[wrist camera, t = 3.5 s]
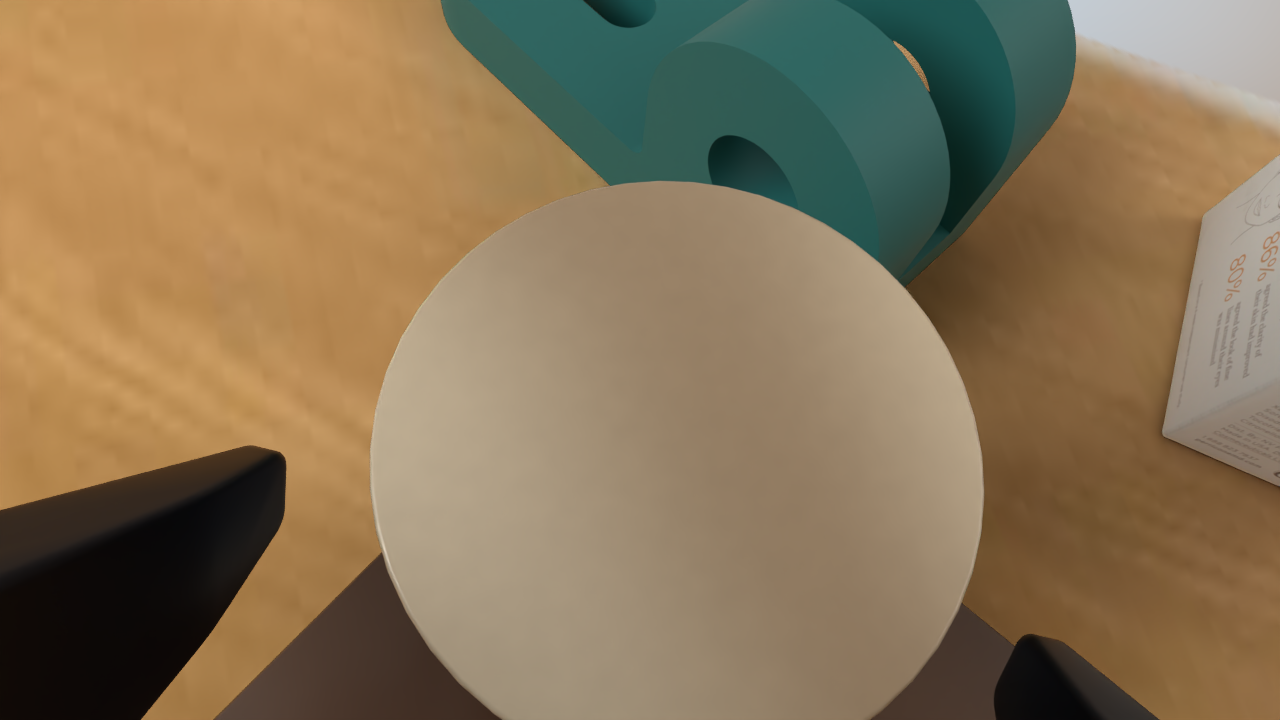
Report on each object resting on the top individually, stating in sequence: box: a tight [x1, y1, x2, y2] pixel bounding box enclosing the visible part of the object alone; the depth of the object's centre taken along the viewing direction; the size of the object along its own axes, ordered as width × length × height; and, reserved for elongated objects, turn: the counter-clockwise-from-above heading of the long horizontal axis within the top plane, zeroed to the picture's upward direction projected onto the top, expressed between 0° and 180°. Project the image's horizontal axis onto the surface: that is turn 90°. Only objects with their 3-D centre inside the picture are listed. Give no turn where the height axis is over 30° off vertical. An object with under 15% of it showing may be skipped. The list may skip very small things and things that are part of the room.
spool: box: [370, 181, 984, 720], centre depth 11 cm, size 6×6×9 cm
